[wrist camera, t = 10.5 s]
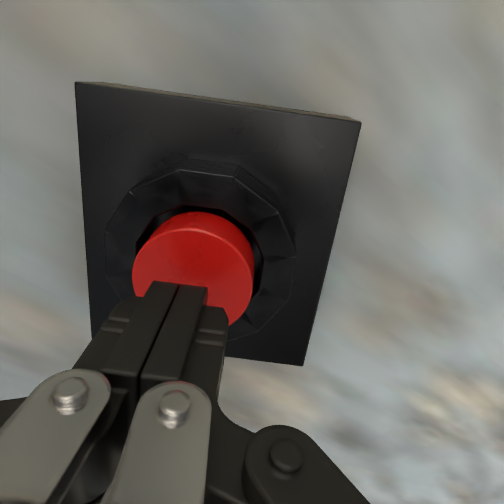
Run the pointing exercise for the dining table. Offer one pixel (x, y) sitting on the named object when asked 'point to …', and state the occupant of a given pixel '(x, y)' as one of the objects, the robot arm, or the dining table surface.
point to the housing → (215, 197)
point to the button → (199, 260)
